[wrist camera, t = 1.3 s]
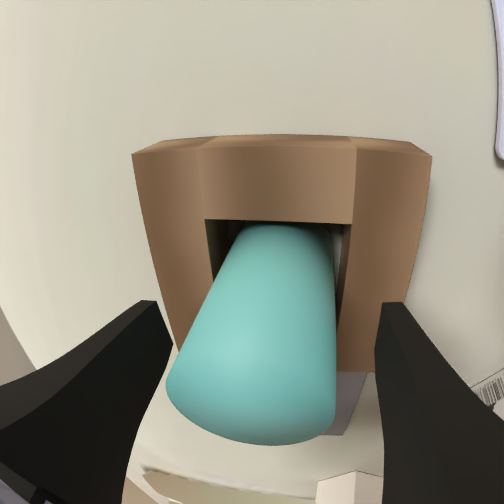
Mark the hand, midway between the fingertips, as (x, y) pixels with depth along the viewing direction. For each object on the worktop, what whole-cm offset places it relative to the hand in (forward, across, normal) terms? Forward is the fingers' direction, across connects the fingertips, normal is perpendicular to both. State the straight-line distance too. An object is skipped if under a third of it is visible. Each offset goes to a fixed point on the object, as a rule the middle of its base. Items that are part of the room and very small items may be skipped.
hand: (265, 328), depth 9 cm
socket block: (+5, 0, 0) cm, 5 cm away
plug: (+5, 0, 0) cm, 5 cm away
